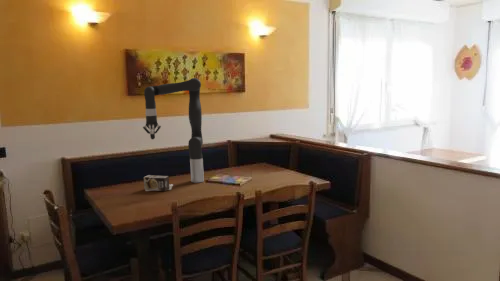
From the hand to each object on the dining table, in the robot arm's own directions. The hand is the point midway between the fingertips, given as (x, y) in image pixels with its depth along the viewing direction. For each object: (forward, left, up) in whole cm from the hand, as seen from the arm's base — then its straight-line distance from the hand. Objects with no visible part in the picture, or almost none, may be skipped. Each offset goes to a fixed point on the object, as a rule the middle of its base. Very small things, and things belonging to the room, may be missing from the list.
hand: (152, 139), depth 279 cm
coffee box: (+4, +14, -28) cm, 31 cm away
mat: (-5, +11, -33) cm, 35 cm away
